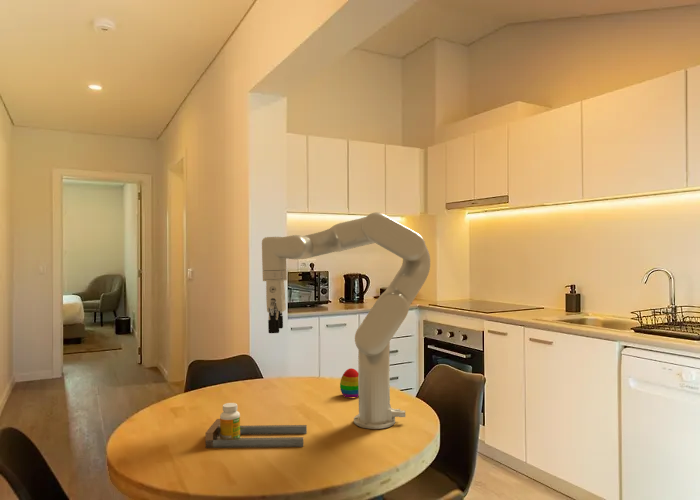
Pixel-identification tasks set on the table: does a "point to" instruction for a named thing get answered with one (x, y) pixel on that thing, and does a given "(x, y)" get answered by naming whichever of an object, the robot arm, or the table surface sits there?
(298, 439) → the u-shaped frame
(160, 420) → the table surface
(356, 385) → the decorative egg
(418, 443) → the table surface
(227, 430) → the supplement bottle
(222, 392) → the table surface
